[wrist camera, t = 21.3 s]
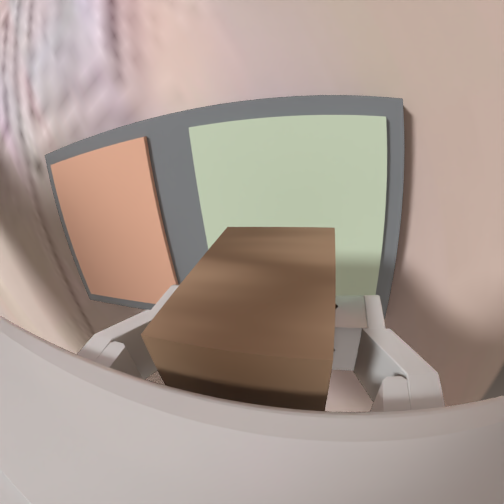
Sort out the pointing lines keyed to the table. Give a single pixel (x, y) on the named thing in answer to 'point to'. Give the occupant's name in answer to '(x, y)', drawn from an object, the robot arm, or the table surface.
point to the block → (253, 319)
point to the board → (233, 190)
